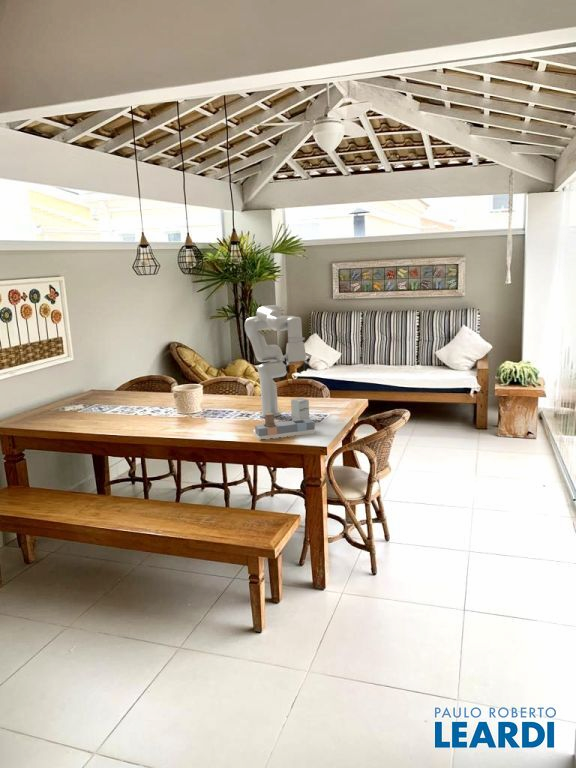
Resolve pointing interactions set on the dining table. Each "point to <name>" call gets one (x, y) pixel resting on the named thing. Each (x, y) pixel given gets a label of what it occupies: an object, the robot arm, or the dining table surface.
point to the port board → (285, 429)
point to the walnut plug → (269, 420)
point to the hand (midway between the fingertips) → (296, 371)
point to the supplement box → (300, 409)
